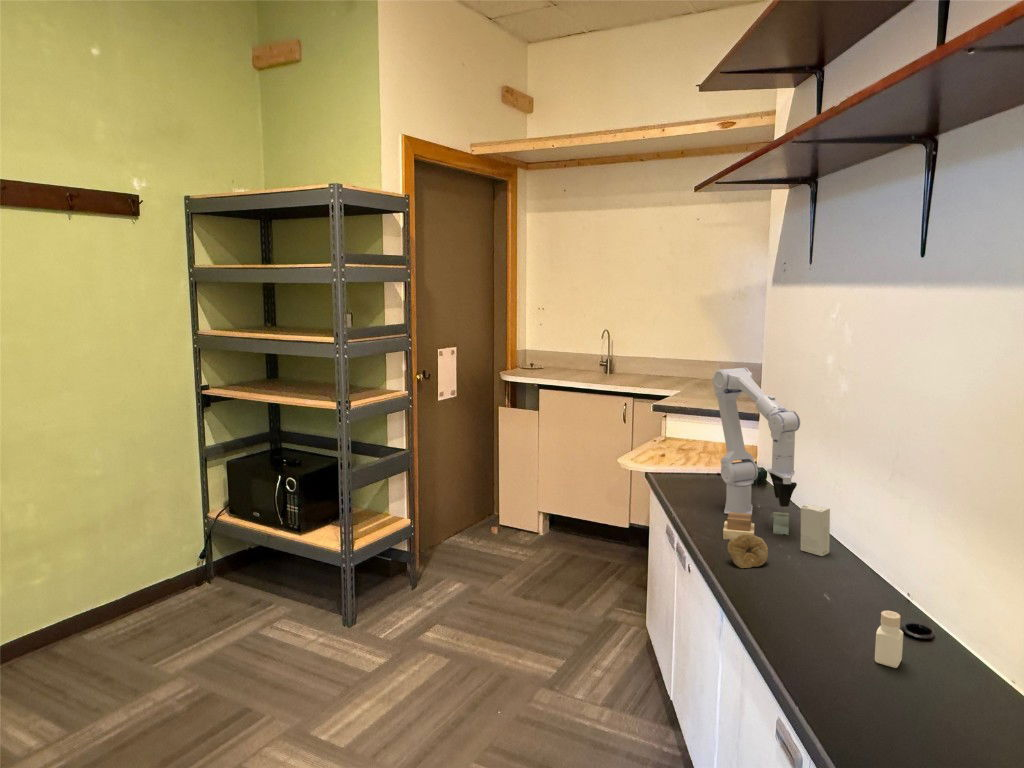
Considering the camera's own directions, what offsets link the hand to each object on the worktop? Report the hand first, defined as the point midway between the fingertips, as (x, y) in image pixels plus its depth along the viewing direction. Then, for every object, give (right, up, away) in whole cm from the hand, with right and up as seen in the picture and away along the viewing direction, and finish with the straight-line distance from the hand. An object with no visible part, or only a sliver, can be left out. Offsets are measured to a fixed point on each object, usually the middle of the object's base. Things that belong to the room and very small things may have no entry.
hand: (781, 501), depth 200 cm
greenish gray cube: (0, -9, +1) cm, 9 cm away
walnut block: (-12, -7, -1) cm, 14 cm away
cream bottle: (-5, -19, -66) cm, 69 cm away
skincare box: (+3, -11, -13) cm, 18 cm away
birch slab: (-12, -10, 0) cm, 16 cm away
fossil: (-16, -13, -19) cm, 28 cm away
